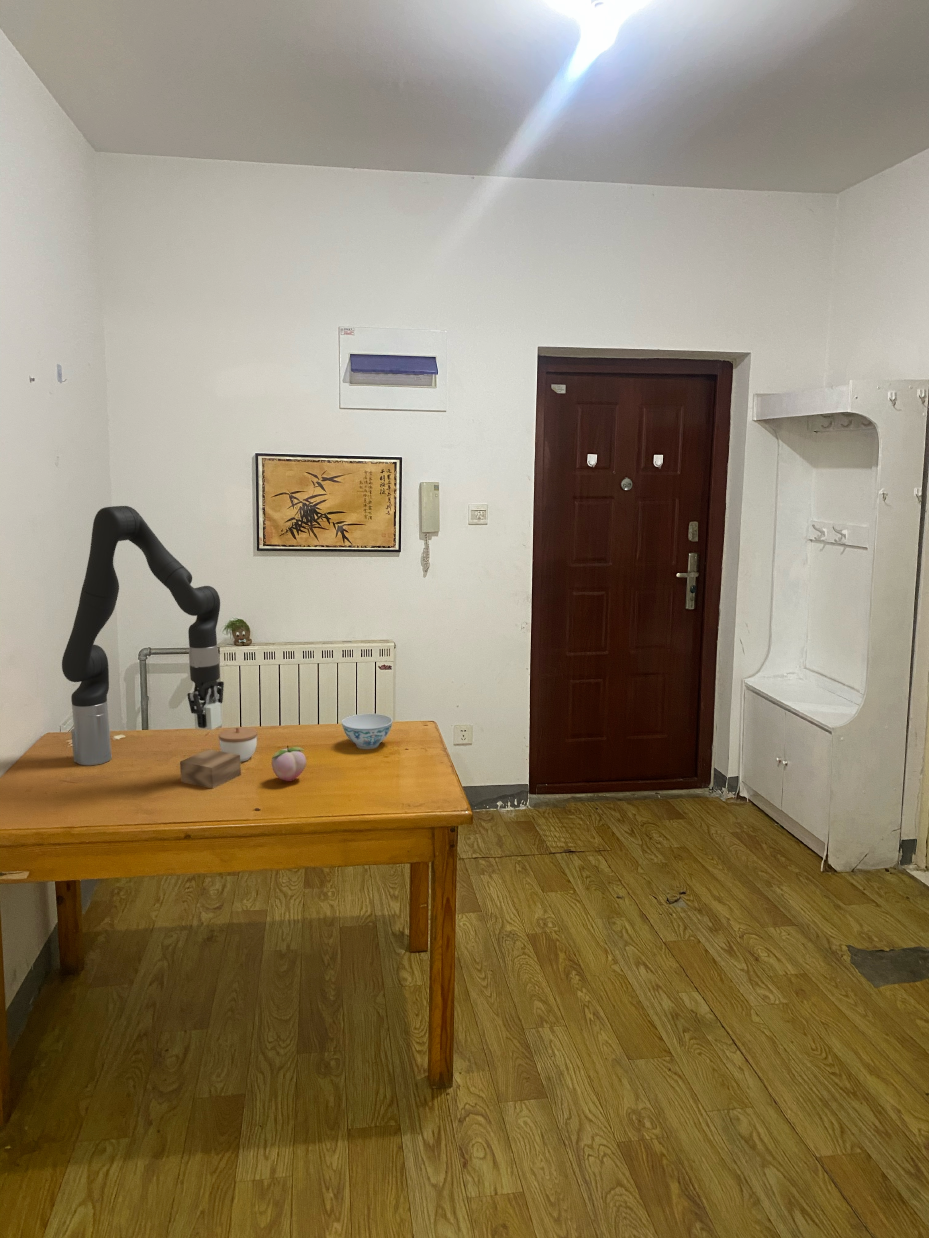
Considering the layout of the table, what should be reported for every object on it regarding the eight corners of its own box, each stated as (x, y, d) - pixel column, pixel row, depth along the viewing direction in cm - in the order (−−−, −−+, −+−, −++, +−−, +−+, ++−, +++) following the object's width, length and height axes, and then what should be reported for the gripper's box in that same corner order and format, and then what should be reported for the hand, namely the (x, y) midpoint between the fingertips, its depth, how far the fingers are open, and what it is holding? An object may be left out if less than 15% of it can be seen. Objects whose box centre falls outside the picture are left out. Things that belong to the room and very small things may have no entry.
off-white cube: (195, 728, 236) (193, 706, 235) (205, 722, 241) (204, 701, 240) (211, 729, 235) (210, 707, 234) (222, 724, 240) (220, 702, 238)
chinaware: (390, 753, 260) (389, 728, 258) (338, 753, 260) (338, 728, 258) (395, 737, 274) (394, 713, 273) (346, 737, 275) (345, 713, 273)
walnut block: (181, 782, 238) (179, 761, 237) (209, 769, 248) (208, 749, 247) (213, 789, 234) (211, 767, 232) (241, 775, 243) (239, 754, 242)
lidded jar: (248, 766, 250) (246, 734, 248) (213, 763, 252) (211, 731, 250) (264, 753, 260) (263, 722, 258) (230, 751, 262) (228, 720, 260)
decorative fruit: (294, 772, 245) (293, 737, 243) (312, 780, 239) (310, 744, 237) (265, 781, 238) (263, 745, 236) (282, 789, 232) (280, 753, 231)
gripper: (207, 655, 243) (210, 715, 246) (175, 667, 229) (180, 731, 232) (231, 657, 240) (235, 717, 244) (201, 669, 227) (205, 733, 230)
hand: (208, 724), depth 238 cm, fingers closed on off-white cube, 5 cm apart
